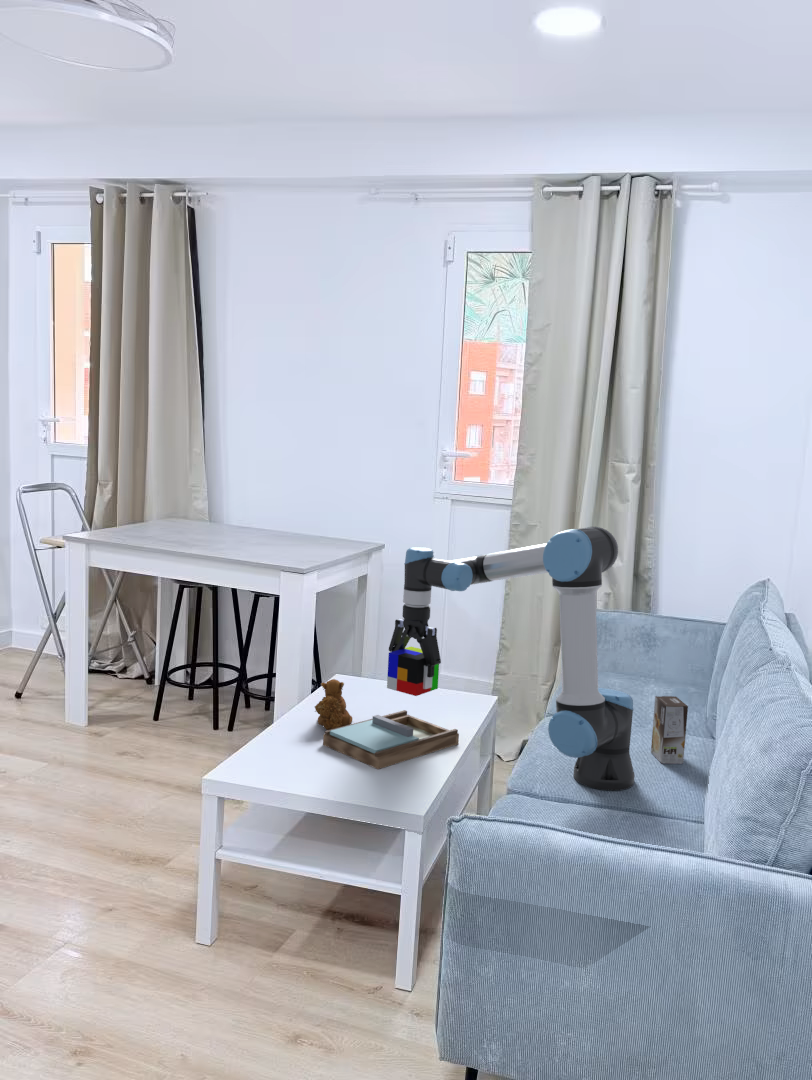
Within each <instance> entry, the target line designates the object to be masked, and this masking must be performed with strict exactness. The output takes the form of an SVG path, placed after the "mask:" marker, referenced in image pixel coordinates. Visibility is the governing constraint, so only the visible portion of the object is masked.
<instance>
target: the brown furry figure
mask: <svg viewBox="0 0 812 1080" xmlns="http://www.w3.org/2000/svg"><path fill="white" fill-rule="evenodd" d="M344 685H345V682H343V681H340V680H338V679H333V678H332V679H329V680H328V681H326V682H321V683H320V686H321V687H322V690H324V693H325V694H324V696H322V699H321V700H320V701H318V703H316V705H315V706H314V709H315V711H314V712H315V713H317V714H318V715H319V716H318V717H317V724H318V725H319V726H322V727H323V728H324V729H325V730H326V731H327V730H331V729H335V728H339V727H343V726H346V725H350V724H352V722H353V716H352V715H351V714H350V713H349V711H348V710H347V703H346V700H345V698H344V697H343V690H344V689H343V688H344Z"/></svg>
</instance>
